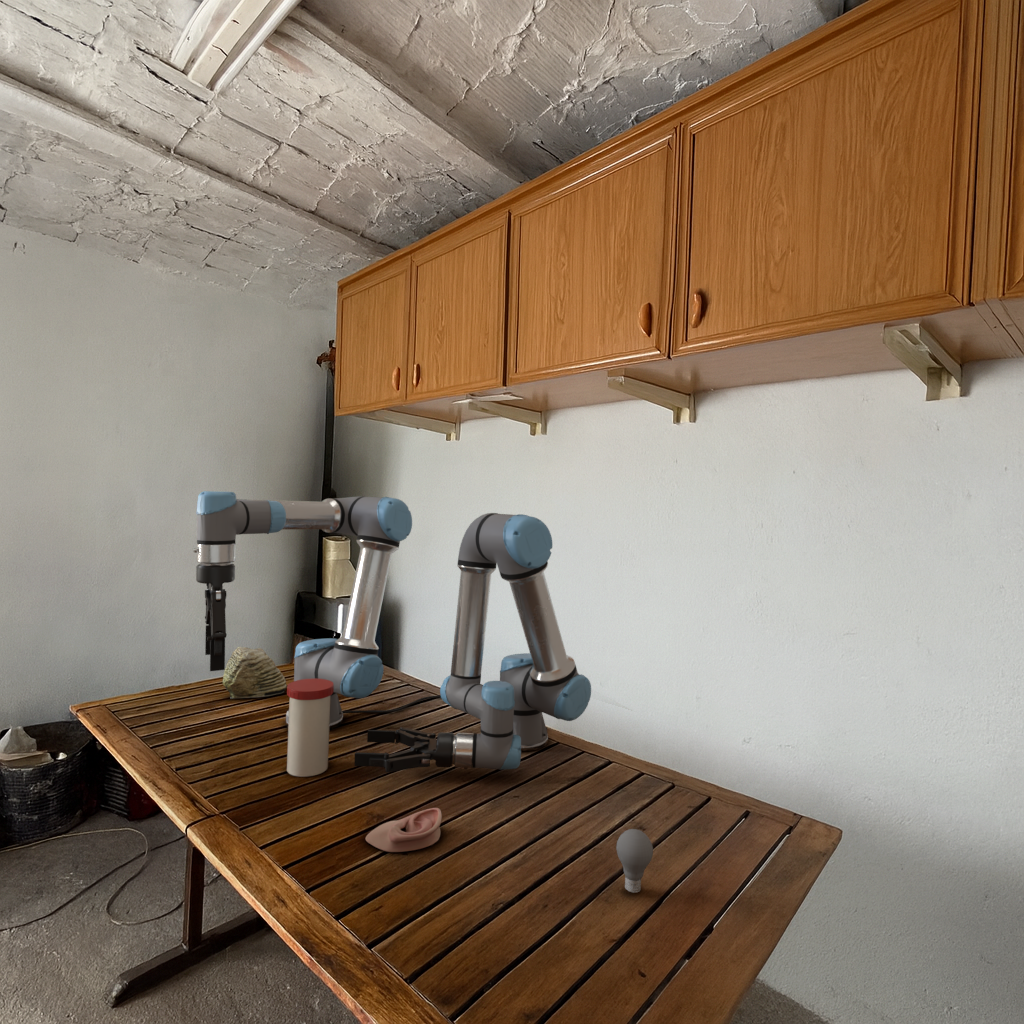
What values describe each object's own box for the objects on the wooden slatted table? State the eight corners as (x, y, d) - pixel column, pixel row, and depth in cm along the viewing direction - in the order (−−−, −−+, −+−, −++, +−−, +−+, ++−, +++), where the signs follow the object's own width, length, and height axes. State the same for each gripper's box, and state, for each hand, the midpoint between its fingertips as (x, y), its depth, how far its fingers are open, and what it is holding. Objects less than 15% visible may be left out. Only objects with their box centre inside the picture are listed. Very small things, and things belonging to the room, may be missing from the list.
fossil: (218, 695, 195) (220, 647, 195) (278, 685, 208) (279, 640, 207) (228, 703, 189) (230, 653, 188) (289, 692, 201) (290, 645, 201)
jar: (287, 761, 150) (290, 681, 150) (327, 758, 153) (330, 680, 153) (286, 778, 142) (289, 693, 141) (328, 774, 144) (331, 691, 144)
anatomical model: (358, 825, 115) (384, 797, 126) (357, 847, 115) (383, 816, 126) (428, 836, 112) (447, 806, 123) (427, 858, 112) (447, 826, 123)
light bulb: (610, 879, 108) (613, 822, 108) (644, 879, 109) (647, 822, 109) (619, 902, 102) (622, 840, 102) (655, 901, 103) (658, 840, 103)
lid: (287, 687, 150) (287, 679, 150) (332, 685, 154) (332, 677, 153) (286, 701, 140) (286, 692, 140) (334, 698, 144) (334, 690, 144)
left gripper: (193, 557, 144) (192, 649, 145) (200, 571, 123) (198, 680, 123) (229, 556, 148) (227, 646, 149) (241, 570, 126) (240, 675, 127)
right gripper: (449, 791, 134) (348, 787, 133) (456, 745, 159) (371, 742, 158) (450, 755, 134) (349, 752, 133) (458, 715, 158) (372, 712, 158)
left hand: (214, 661), depth 136 cm, fingers open, 13 cm apart
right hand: (361, 746), depth 146 cm, fingers open, 13 cm apart
